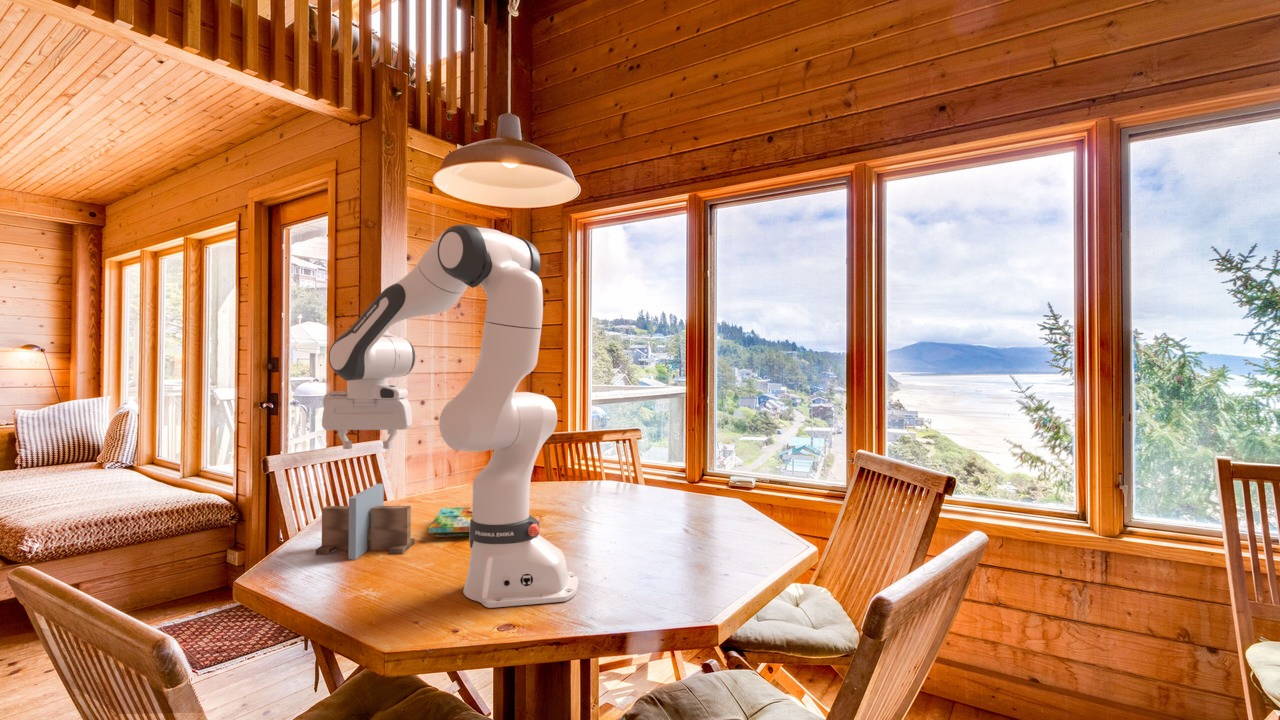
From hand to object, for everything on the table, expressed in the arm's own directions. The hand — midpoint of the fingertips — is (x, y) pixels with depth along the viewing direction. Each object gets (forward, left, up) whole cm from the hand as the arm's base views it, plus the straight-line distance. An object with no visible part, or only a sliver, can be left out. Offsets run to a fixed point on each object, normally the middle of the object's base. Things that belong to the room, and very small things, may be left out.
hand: (367, 448), depth 143 cm
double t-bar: (0, 0, -24) cm, 24 cm away
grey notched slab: (0, 0, -24) cm, 24 cm away
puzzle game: (-18, -16, -25) cm, 34 cm away
